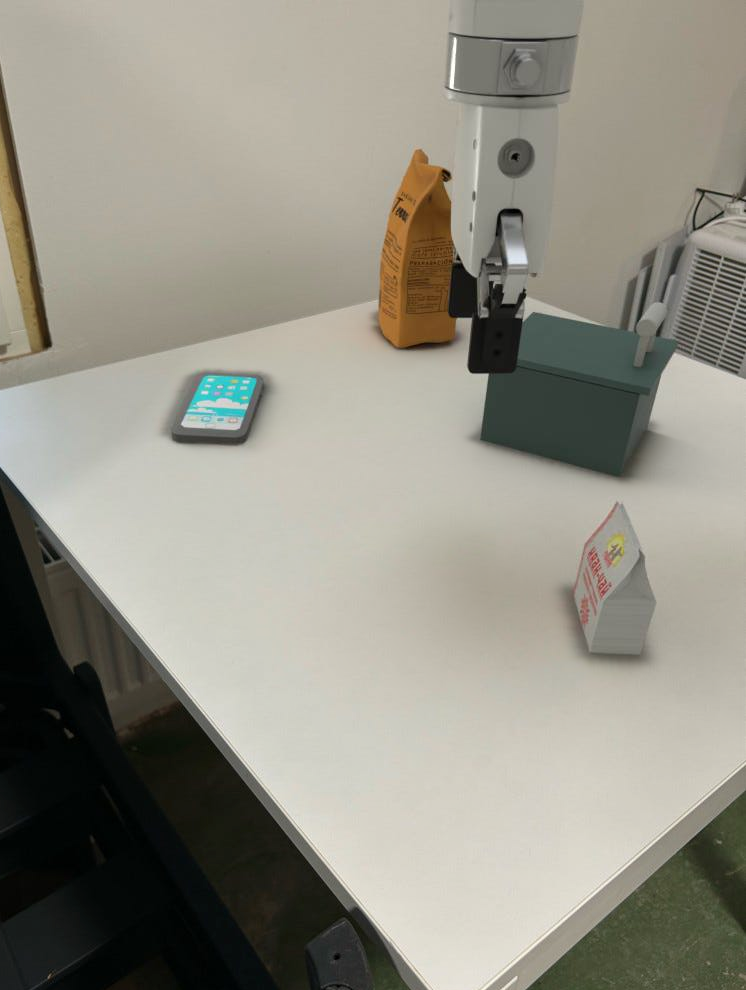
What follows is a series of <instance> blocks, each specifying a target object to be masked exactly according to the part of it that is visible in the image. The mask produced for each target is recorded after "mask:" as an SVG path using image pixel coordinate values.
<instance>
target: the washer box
mask: <svg viewBox="0 0 746 990" xmlns="http://www.w3.org/2000/svg"><path fill="white" fill-rule="evenodd" d="M662 374H663V373H662ZM662 374H661V376H660V378H659V379H658V381H657V383H656V385H655V386H654V388H653V390H652V391H651V393H650V395H649V396H647V395H643V394H638V393H634V392H629V391H625V390H621V389H616V388H612V387H608V386H603V385H599V384H595V383H590V382H586V381H581V380H577V379H573V378H568V377H564V376H560V375H555V374H551V373H546V372H542V371H538V370H533V369H529V368H525V367H520V366H516V370H515V371H514V372H513V373H501V374H488V375H487V383H486V391H485V399H484V408H483V413H482V422H481V430H480V438H479V440H481V441H484V442H487V443H490V444H494V445H498V446H502V447H506V448H509V449H513V450H517V451H521V452H525V453H528V454H532V455H534V456H539V457H542V458H546V459H550V460H552V461H558V462H561V463H565V464H569V465H572V466H576V467H579V468H584V469H587V470H590V471H594V472H598V473H601V474H602V473H603V474H605V475H609V476H613V477H616V478H620V477H621V475H622V474H623V471H624V469H626V468H625V467H626V466H627V465H628V463H629V461H630V459H631V457H632V455H633V453H634V451H635V450H636V448H637V446H638V444H639V442H640V440H641V439H642V437H643V436H644V433H645V431H646V430H648V426H649V425H650V424H649V423H650V420H651V416H652V412H653V408H654V404H655V402H656V397H657V393H658V390H659V386H660V381H661V378H662Z"/></svg>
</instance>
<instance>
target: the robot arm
mask: <svg viewBox="0 0 746 990" xmlns="http://www.w3.org/2000/svg"><path fill="white" fill-rule="evenodd" d="M584 6H585V0H449V11H448V28H447V31H448V32H447V38H446V40H447V41H446V51H445V53H446V54H445V67H444V68H445V69H444V80H443V81H444V83H443V84H444V85H443V96H444V98H445V99H447V100H449V101H451V100H452V101H454V102H457V103H459V111H458V112H459V114H458V120H457V133H456V142H455V153H454V162H453V163H454V164H453V174H452V175H453V176H452V188H451V235H452V240H453V243H454V245H455V246H454V253H453V257H454V262H461V263H451V275H450V287H449V299H448V314H449V316H450V317H451V318H457V319H471V325H470V334H469V342H468V354H467V362H466V367H467V370H468V372H469V373H470V374H471V375H472V374H473V375H482V374H483V375H487V374H488V375H489V374H501V373H513V372H514V371H515V370H516V366H517V359H518V352H519V345H520V338H521V330H522V323H523V321H524V315H525V310H526V309H525V306H526V304H525V303H526V302H525V300H527V299H526V298H527V293H526V292H527V288H525V285H526V281H527V278H528V275H529V276H530V277H531V278H538V277H540V276H541V275H542V274H543V273H544V271H545V268H546V262H547V255H548V245H549V237H550V227H551V219H552V209H553V199H554V190H555V189H554V188H555V180H556V168H557V157H558V140H559V139H558V135H559V105H561V104H564V103H568V102H569V101H570V97H571V91H572V83H573V76H574V71H575V64H576V57H577V51H578V44H579V37H580V31H581V26H582V25H581V24H582V17H583V12H584ZM497 263H498V264H500V265H498V264H497ZM496 264H497V265H496ZM495 282H500V283H495Z"/></svg>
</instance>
